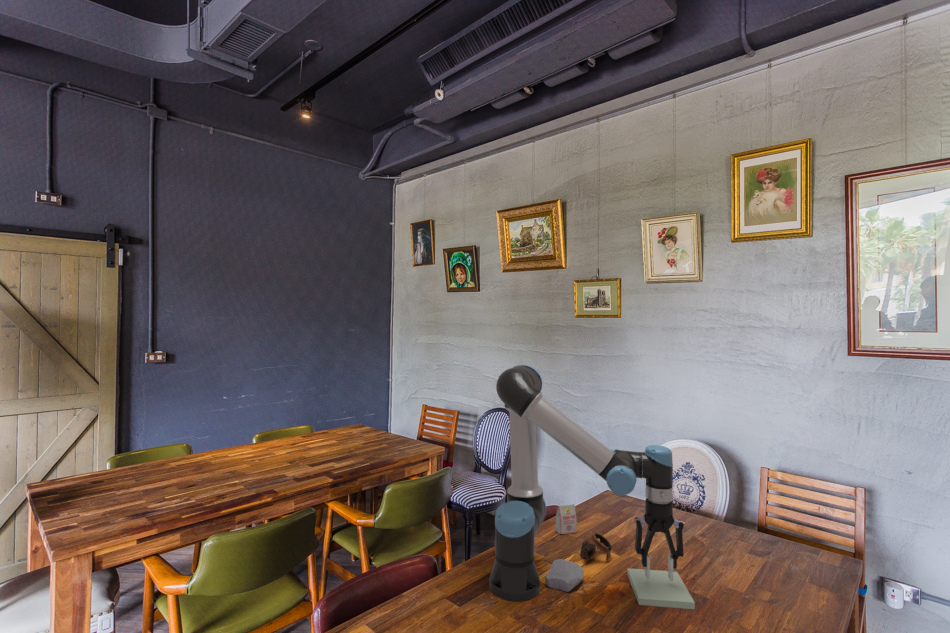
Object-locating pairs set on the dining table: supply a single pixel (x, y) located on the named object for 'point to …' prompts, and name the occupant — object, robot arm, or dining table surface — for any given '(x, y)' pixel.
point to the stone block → (564, 575)
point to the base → (660, 589)
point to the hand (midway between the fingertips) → (659, 577)
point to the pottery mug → (592, 541)
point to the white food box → (566, 519)
